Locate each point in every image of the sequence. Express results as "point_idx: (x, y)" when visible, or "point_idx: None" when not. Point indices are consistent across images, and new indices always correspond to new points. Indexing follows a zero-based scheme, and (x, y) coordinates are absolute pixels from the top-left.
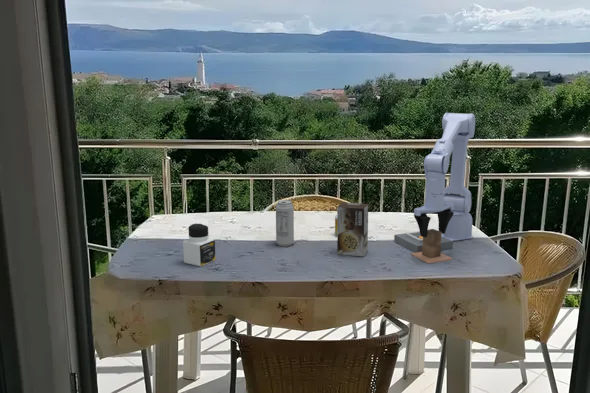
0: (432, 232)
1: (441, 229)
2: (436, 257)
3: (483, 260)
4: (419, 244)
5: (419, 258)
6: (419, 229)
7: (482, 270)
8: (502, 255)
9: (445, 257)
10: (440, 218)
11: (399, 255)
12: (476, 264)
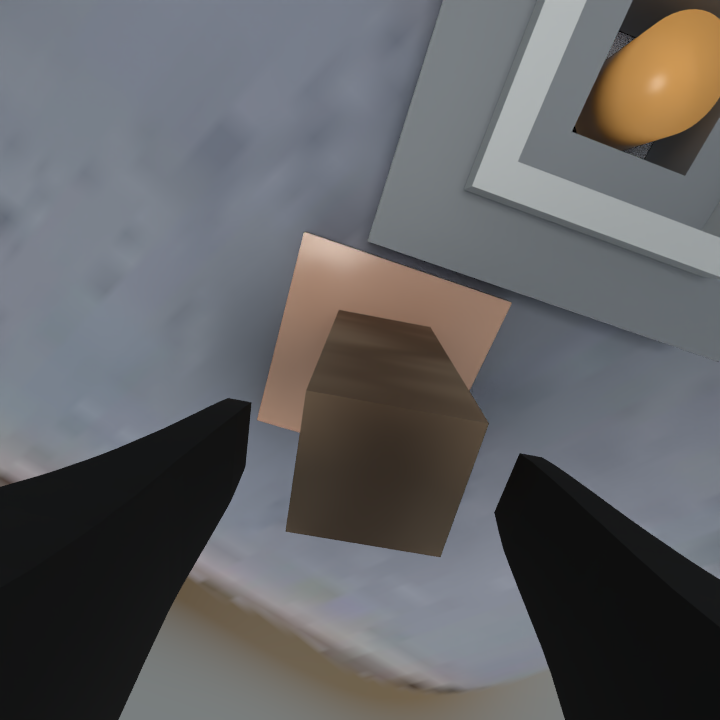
0: (332, 509)
1: (524, 520)
2: None
3: None
4: (423, 219)
5: (281, 330)
6: (170, 428)
7: (397, 612)
8: None
9: None
10: (661, 664)
11: (221, 169)
12: (455, 566)
